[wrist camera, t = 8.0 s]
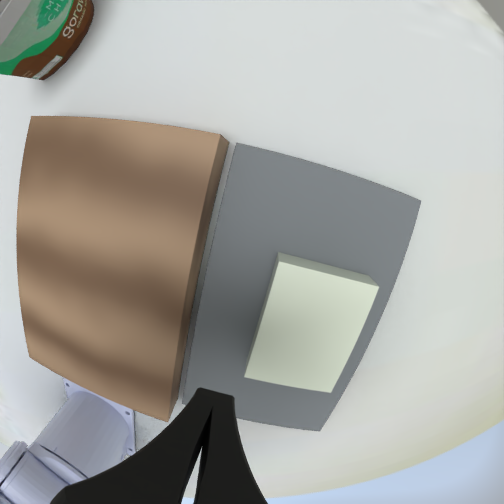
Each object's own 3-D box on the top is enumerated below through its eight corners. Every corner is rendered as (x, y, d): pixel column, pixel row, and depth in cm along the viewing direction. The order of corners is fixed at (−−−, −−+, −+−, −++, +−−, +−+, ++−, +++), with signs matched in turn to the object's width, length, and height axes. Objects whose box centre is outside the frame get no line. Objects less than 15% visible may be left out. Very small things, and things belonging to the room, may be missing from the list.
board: (177, 398, 21) (167, 422, 18) (47, 342, 21) (29, 357, 18) (229, 142, 16) (220, 134, 13) (56, 120, 16) (31, 116, 13)
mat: (319, 427, 21) (319, 431, 21) (183, 399, 21) (182, 403, 21) (417, 200, 16) (421, 200, 16) (237, 143, 16) (236, 142, 16)
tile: (244, 377, 17) (246, 359, 19) (330, 392, 17) (326, 375, 19) (278, 261, 15) (278, 252, 17) (379, 286, 15) (368, 275, 17)
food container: (99, 68, 15) (4, 23, 6) (42, 95, 16) (-49, 77, 6) (114, -34, 12) (60, -87, 3) (60, -7, 13) (0, -44, 3)
